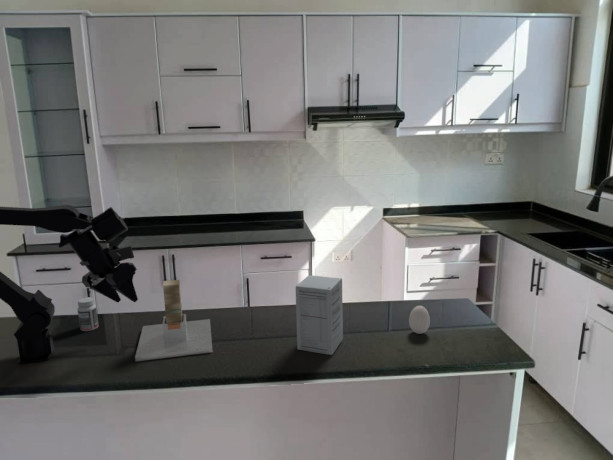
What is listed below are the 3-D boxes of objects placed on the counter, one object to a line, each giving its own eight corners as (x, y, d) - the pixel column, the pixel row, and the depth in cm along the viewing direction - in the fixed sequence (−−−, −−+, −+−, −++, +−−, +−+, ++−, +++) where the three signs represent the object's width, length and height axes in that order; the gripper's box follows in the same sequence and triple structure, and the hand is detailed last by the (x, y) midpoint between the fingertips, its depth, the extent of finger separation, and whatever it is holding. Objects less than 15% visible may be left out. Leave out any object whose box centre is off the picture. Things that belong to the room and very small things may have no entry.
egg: (431, 337, 120) (432, 310, 119) (410, 337, 121) (411, 310, 119) (427, 328, 125) (428, 302, 124) (407, 328, 126) (408, 302, 124)
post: (166, 325, 117) (162, 285, 115) (166, 319, 121) (163, 280, 119) (182, 323, 118) (179, 284, 116) (182, 317, 122) (179, 279, 119)
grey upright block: (343, 339, 120) (344, 277, 116) (332, 356, 111) (332, 289, 108) (309, 334, 123) (308, 274, 120) (295, 349, 115) (294, 285, 111)
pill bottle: (93, 323, 132) (90, 295, 131) (101, 327, 129) (98, 299, 128) (76, 328, 129) (73, 300, 127) (85, 333, 126) (81, 304, 124)
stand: (135, 361, 110) (133, 338, 109) (143, 330, 127) (141, 309, 126) (212, 352, 114) (211, 329, 113) (210, 323, 131) (208, 303, 130)
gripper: (134, 229, 112) (169, 280, 117) (100, 237, 124) (134, 282, 130) (96, 256, 104) (136, 309, 110) (65, 261, 117) (102, 309, 122)
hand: (127, 301), depth 118 cm, fingers open, 9 cm apart
